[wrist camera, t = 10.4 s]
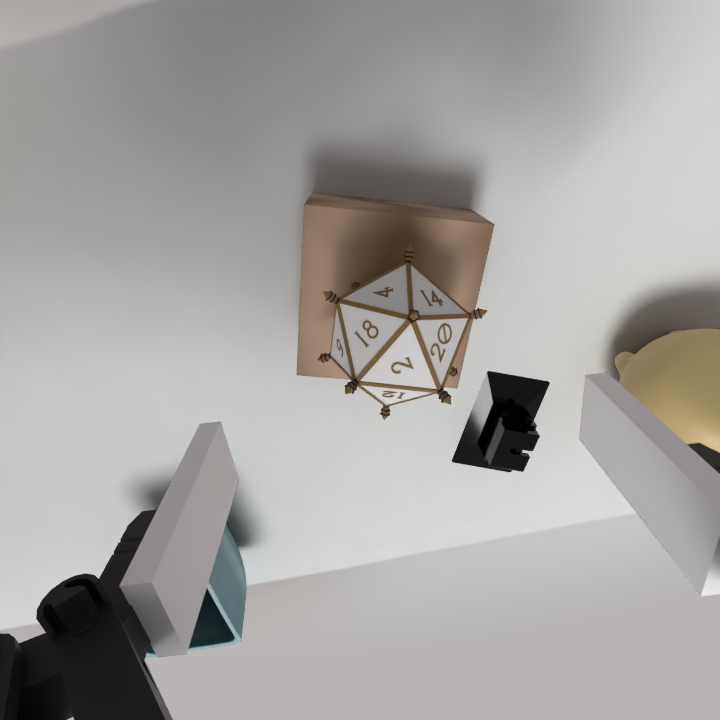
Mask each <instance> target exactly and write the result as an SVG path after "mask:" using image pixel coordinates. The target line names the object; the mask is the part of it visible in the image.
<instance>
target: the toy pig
mask: <svg viewBox="0 0 720 720" xmlns="http://www.w3.org/2000/svg"><path fill="white" fill-rule="evenodd" d="M615 365H616V368H617V370H618V372H619V374H620V380H619V384H620V385H622V386H623V387H624V388H625V389H626V390H627V391H628V392H629V393H630V394H632V395H633V396H634V397H635V398H636V399H637V400H638V401H639V402H640V403H642V404H643V405H644V406H645V407H646V408H647V409H648V410H649V411H650V412H651V413H653V414H654V415H655V416H656V417H657V418H658V419H659V420H660V421H661V422H663V423H664V424H665V425H666V426H667V427H668V428H669V429H670V430H671V431H673V432H674V433H675V434H676V435H677V436H678V437H679V438H680V439H681V440H683V441H684V442H685V443H686V444H692V443H701V444H703V445H705V446H707V447H709V448H711V449H713V450H715V451H717V452H719V453H720V329H708V328H703V329H690V330H683V331H682V330H674V331H671V332H670V333H669V334H668V335H665V336H662V337H660V338H658V339H656V340H654V341H652V342H650V343H649V344H647V345H646V346H644V347H643V348H642V349H641V350H639V351H638V352H637V353H636V354H633V353H630V352H627V351H624V352H621V353H619V354H618V355H617V356H616V358H615Z"/></svg>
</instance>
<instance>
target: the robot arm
mask: <svg viewBox="0 0 720 720" xmlns="http://www.w3.org/2000/svg"><path fill="white" fill-rule="evenodd" d="M579 439H580V441H581V442H582V443H583V445H584V446H585V447H586V448H587V450H588V451H589V452H590V454H591V455H592V456H593V458H594V459H595V460H596V461H597V463H598V464H599V465H600V467H601V468H602V469H603V470H604V472H605V473H606V474H607V476H608V477H609V478H610V479H611V481H612V482H613V483H614V485H615V486H616V487H617V489H618V490H619V491H620V492H621V494H622V495H623V496H624V498H625V499H626V500H627V501H628V503H629V504H630V505H631V507H632V508H633V509H634V511H635V512H636V513H637V514H638V516H639V517H640V518H641V519H642V521H643V522H644V523H645V525H646V526H647V527H648V528H649V530H650V531H651V532H652V534H653V535H654V536H655V538H656V539H657V540H658V541H659V543H660V544H661V545H662V547H663V548H664V549H665V551H666V552H667V553H668V554H669V556H670V557H671V558H672V560H673V561H674V562H675V563H676V565H677V566H678V567H679V569H680V570H681V571H682V573H683V574H684V575H685V576H686V578H687V579H688V580H689V581H690V583H691V584H692V585H693V587H694V588H695V589H696V591H697V592H698V593H699V594H700V596H708V595H717V594H720V453H719V452H717V451H715V450H713V449H711V448H709V447H707V446H705V445H703V444H701V443H692V444H686V443H685V442H684V441H683V440H681V439H680V438H679V437H678V436H677V435H676V434H675V433H674V432H673V431H671V430H670V429H669V428H668V427H667V426H666V425H665V424H664V423H663V422H661V421H660V420H659V419H658V418H657V417H656V416H655V415H654V414H653V413H651V412H650V411H649V410H648V409H647V408H646V407H645V406H644V405H643V404H642V403H640V402H639V401H638V400H637V399H636V398H635V397H634V396H633V395H632V394H630V393H629V392H628V391H627V390H626V389H625V388H624V387H623V386H622V385H620V384H619V383H618V382H617V381H616V380H615V379H614V378H613V377H612V376H611V375H609V374H608V373H599V374H591V375H585V384H584V394H583V404H582V413H581V423H580V433H579ZM238 482H239V478H238V475H237V472H236V469H235V466H234V462H233V459H232V456H231V453H230V450H229V447H228V443H227V440H226V437H225V434H224V431H223V428H222V424H221V421H220V422H212V423H204V424H200V425H199V427H198V429H197V431H196V433H195V435H194V437H193V439H192V441H191V443H190V445H189V447H188V449H187V451H186V453H185V455H184V457H183V459H182V461H181V463H180V465H179V467H178V469H177V471H176V473H175V475H174V477H173V479H172V481H171V483H170V485H169V487H168V489H167V491H166V493H165V495H164V497H163V499H162V501H161V503H160V505H159V507H158V509H157V510H150V511H142V512H141V513H140V514H139V515H138V516H137V517H136V518H135V519H134V520H133V521H132V522H131V523H130V524H129V525H128V527H127V529H126V531H125V532H124V534H123V536H122V538H121V542H120V543H118V545H117V547H116V549H115V551H114V555H112V556H111V558H110V560H109V562H108V563H107V565H106V567H105V569H104V571H103V572H102V574H101V576H100V578H99V579H98V578H97V577H96V576H95V575H91V574H81V575H76V576H73V577H71V578H69V579H67V580H65V581H63V582H61V583H60V584H59V585H57V586H56V587H55V588H53V589H52V590H51V591H50V592H49V593H48V594H47V595H46V596H45V597H44V598H43V599H42V601H41V603H40V605H39V607H38V609H37V617H36V619H37V620H38V622H39V623H40V624H41V626H42V627H43V629H44V630H45V632H46V633H44V634H42V635H39V636H37V637H34V638H32V639H29V640H27V641H24V642H22V643H18V642H17V641H16V639H15V638H14V637H13V636H11V635H10V634H0V720H67V719H69V718H71V717H74V720H173V719H172V717H171V715H170V713H169V711H168V709H167V707H166V705H165V703H164V700H163V698H162V696H161V694H160V692H159V690H158V688H157V686H156V683H155V681H154V679H153V677H152V675H151V673H150V671H149V669H148V666H147V665H146V663H145V661H144V659H145V657H146V654H147V651H148V649H149V646H150V644H151V646H152V648H153V650H154V652H155V654H156V655H157V657H166V656H174V655H184V654H187V651H188V648H189V645H190V641H191V638H192V635H193V631H194V628H195V625H196V621H197V618H198V615H199V612H200V608H201V605H202V602H203V598H204V595H205V592H206V588H207V585H208V582H209V578H210V575H211V572H212V569H213V565H214V562H215V559H216V555H217V552H218V549H219V545H220V542H221V539H222V535H223V532H224V529H225V525H226V522H227V519H228V516H229V512H230V509H231V506H232V502H233V499H234V496H235V492H236V489H237V486H238Z"/></svg>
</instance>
